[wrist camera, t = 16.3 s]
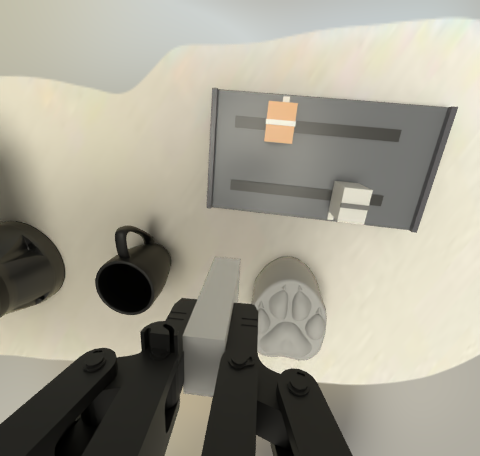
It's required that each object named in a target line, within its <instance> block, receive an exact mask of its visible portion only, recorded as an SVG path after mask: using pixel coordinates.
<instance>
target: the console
mask: <svg viewBox="0 0 480 456" xmlns="http://www.w3.org/2000/svg"><path fill="white" fill-rule="evenodd" d="M269 101H278V102H291V103H298V106H297V113H296V120H295V121H296V125H295V127H294V134H293V141H292V144H287V143H276V142H266V141H264V138H265V129H266V119H267V112H268V103H269ZM457 109H458V107H436V106H423V105H411V104H398V103H385V102H373V101H360V100H347V99H334V98H322V97H309V96H296V95H283V94H271V93H258V92H245V91H233V90H220V89H218V88H212V107H211V128H210V149H209V170H208V191H207V208H212V207H216V208H224V209H233V210H241V211H250V212H259V213H267V214H276V215H284V216H293V217H301V218H310V219H319V220H327V221H336V220H335V218H334V217H333V216H332V215H331V213H330V212H329V206H330V201H331V196H332V191H333V186H334V182H335V181H342V182H352V183H359V184H361V185H363V186H365V187H367V188H369V189H371V190H373V192H372V196H371V199H370V203H369V206H370V209H369V211H367V215H366V219H365V223H364V225H370V226H379V227H387V228H396V229H404V230H410V231H411V232H416V233H417V230H418V227H419V224H420V221H421V218H422V215H423V212H424V209H425V206H426V203H427V200H428V197H429V194H430V191H431V188H432V185H433V182H434V179H435V176H436V173H437V170H438V166H439V163H440V160H441V157H442V154H443V151H444V148H445V145H446V142H447V139H448V136H449V133H450V130H451V127H452V124H453V121H454V118H455V115H456V112H457ZM336 222H337V221H336Z"/></svg>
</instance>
